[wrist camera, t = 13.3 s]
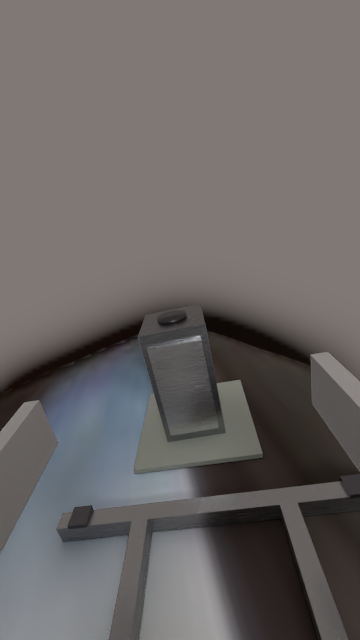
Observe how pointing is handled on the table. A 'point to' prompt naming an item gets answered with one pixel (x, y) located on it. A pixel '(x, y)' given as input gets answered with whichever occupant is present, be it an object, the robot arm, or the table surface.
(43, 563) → the table surface
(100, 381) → the table surface
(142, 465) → the pad
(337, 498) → the rail frame
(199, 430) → the tall box with knob
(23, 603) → the table surface
